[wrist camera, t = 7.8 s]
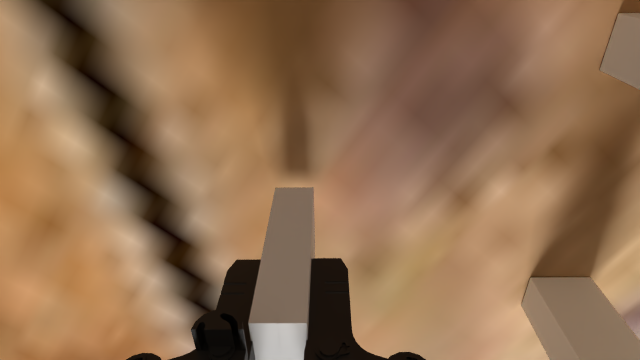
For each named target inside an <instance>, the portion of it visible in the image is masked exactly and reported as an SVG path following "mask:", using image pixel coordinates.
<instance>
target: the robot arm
mask: <svg viewBox="0 0 640 360" xmlns="http://www.w3.org/2000/svg"><path fill="white" fill-rule="evenodd" d="M314 257H315V223H314V188H313V187H311V188H275V192H274V197H273V202H272V207H271V212H270V217H269V222H268V227H267V232H266V237H265V242H264V247H263V252H262V257H261V260H236V261H235V262H234V264H233V265H232V266H231V267H230V268H229V269H228V271H227V274H226V277H225V281H224V285H223V288H222V291H221V295H220V298H219V301H218V305H217V308H216V310H214V311H211V312H209V313H206V314H204V315H203V316H201V317H200V318H199V319H198V320H197V321H196V322H195V323H194V325H193V327H192V329H191V332H192V335H193V339H194V343H195V347H196V349H195V350H193V351H192V352H190V353H188V354H185V355H183V356H180V357H176V358H173V359H169V360H426V359H424V358H423V357H421V356H420V355H418V354H414V353H411V352H399V353H396V354H394V355H392V356H390V357H389V358H388V359H386V358H383V357H380V356H377V355H374V354H371V353H369V352H367V351H365V350H364V349H363V348H361V347H360V346H359V345H358V343H357V342H356V341H355V339H354V337H353V333H352V326H351V311H350V296H349V281H348V269H347V267H346V266H345V264H344V263H343V261H342V259H341V258H317V259H314ZM127 360H161V358H160V357H159V356H157V355H154V354H152V353H141V354H138V355H134V356H132V357H130V358H128V359H127Z"/></svg>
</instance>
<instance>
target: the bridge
mask: <svg viewBox="0 0 640 360" xmlns="http://www.w3.org/2000/svg"><path fill="white" fill-rule="evenodd" d="M600 71H602V72H604V73H606V74H608V75H610V76H612V77H614V78H616V79H618V80H621V81H623V82H625V83H627V84H629V85H631V86H633V87H635V88H637V89H639V90H640V13H618V16H617V19H616V22H615V25H614V28H613V31H612V34H611V37H610V40H609V43H608V46H607V49H606V52H605V55H604V58H603V61H602V64H601V67H600ZM521 306H522V308H523V310H524V312H525V313H526V315H527V317H528V319H529V321H530V323H531V325H532V327H533V329H534V330H535V332H536V334H537V336H538V338H539V340H540V342H541V344H542V345H543V347H544V349H545V351H546V353H547V355H548V357H549V359H550V360H640V340H639V339H638V338H637V336H636V335H635V334H634V332H633V331H632V330H631V329H630V327H629V326H628V325H627V323H626V322H625V321H624V320H623V318H622V317H621V316H620V314H619V313H618V312H617V311H616V309H615V308H614V307H613V305H612V304H611V303H610V302H609V300H608V299H607V298H606V296H605V295H604V294H603V293H602V291H601V290H600V289H599V287H598V286H597V285H596V284H595V282H594V281H593V280H592V278H591V277H530V280H529V283H528V286H527V289H526V292H525V295H524V298H523V301H522V304H521Z"/></svg>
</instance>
